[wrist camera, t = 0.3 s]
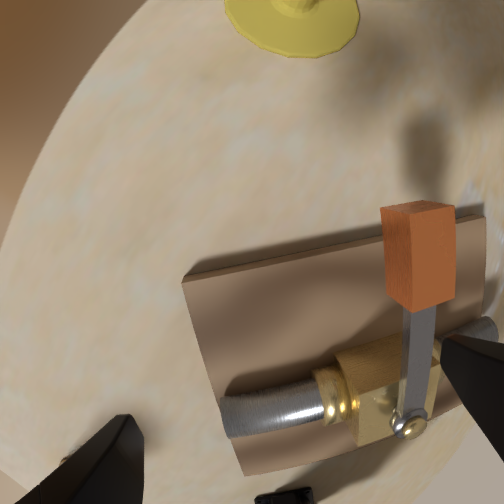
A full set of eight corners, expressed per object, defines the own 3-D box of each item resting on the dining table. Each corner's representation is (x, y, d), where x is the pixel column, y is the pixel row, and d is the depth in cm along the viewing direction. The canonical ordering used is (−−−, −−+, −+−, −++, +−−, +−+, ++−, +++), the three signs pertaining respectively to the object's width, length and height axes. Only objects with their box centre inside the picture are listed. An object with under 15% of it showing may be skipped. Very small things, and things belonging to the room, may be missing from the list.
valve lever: (414, 413, 18) (431, 436, 15) (381, 426, 17) (397, 451, 15) (422, 200, 14) (454, 205, 12) (379, 207, 14) (409, 214, 11)
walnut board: (456, 395, 27) (463, 402, 25) (243, 465, 26) (244, 476, 24) (474, 214, 22) (486, 217, 20) (184, 276, 21) (181, 283, 19)
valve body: (469, 346, 24) (508, 377, 18) (231, 422, 23) (236, 480, 17) (475, 298, 23) (521, 325, 17) (216, 373, 22) (216, 432, 16)
